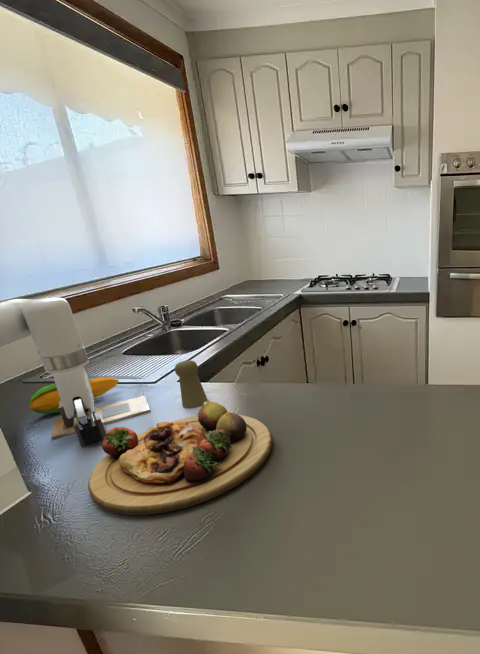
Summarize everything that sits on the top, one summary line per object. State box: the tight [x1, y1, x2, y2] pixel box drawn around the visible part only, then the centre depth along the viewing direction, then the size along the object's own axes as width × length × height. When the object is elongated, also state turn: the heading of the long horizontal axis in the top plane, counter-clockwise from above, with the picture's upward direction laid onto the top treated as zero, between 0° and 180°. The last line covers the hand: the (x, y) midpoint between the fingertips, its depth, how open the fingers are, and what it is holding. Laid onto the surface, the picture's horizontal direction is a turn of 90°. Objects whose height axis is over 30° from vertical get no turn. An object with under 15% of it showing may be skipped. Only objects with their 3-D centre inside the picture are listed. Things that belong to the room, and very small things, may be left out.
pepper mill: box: [174, 359, 209, 409], centre depth 104 cm, size 6×6×11 cm
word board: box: [51, 394, 151, 440], centre depth 103 cm, size 20×11×1 cm, turn 123°
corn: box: [27, 374, 119, 415], centre depth 110 cm, size 7×8×20 cm
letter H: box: [58, 401, 76, 427], centre depth 99 cm, size 5×5×5 cm
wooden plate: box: [87, 400, 273, 516], centre depth 79 cm, size 32×32×8 cm
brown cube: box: [73, 411, 108, 448], centre depth 92 cm, size 5×5×5 cm
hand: (93, 435), depth 92 cm, fingers open, 6 cm apart
